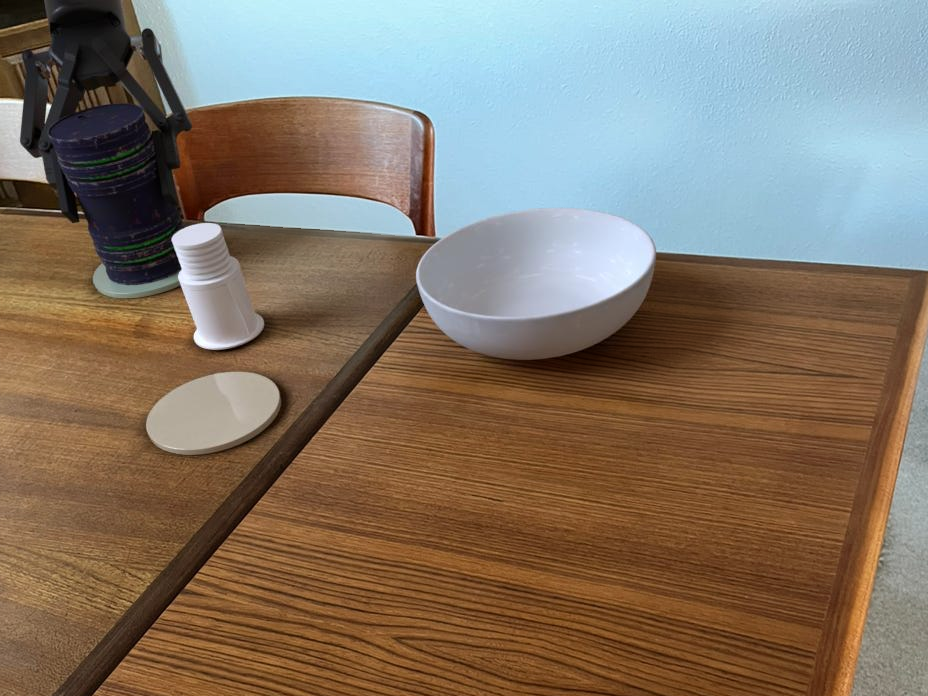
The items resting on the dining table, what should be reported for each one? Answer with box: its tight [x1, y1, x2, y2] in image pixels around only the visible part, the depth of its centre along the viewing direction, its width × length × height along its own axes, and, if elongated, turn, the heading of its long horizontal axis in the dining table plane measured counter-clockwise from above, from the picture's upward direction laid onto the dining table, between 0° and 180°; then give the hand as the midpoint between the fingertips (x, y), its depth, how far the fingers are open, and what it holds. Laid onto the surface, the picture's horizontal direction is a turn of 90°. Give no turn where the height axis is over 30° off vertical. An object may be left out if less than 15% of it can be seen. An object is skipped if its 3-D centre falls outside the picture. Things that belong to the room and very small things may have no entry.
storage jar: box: [48, 102, 186, 285], centre depth 102 cm, size 10×10×15 cm
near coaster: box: [145, 371, 282, 456], centre depth 86 cm, size 12×12×1 cm
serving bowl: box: [415, 207, 657, 361], centre depth 86 cm, size 21×21×7 cm
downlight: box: [172, 222, 265, 351], centre depth 92 cm, size 8×7×10 cm
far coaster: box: [92, 262, 181, 299], centre depth 108 cm, size 13×13×1 cm
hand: (120, 208), depth 100 cm, fingers closed on storage jar, 10 cm apart
